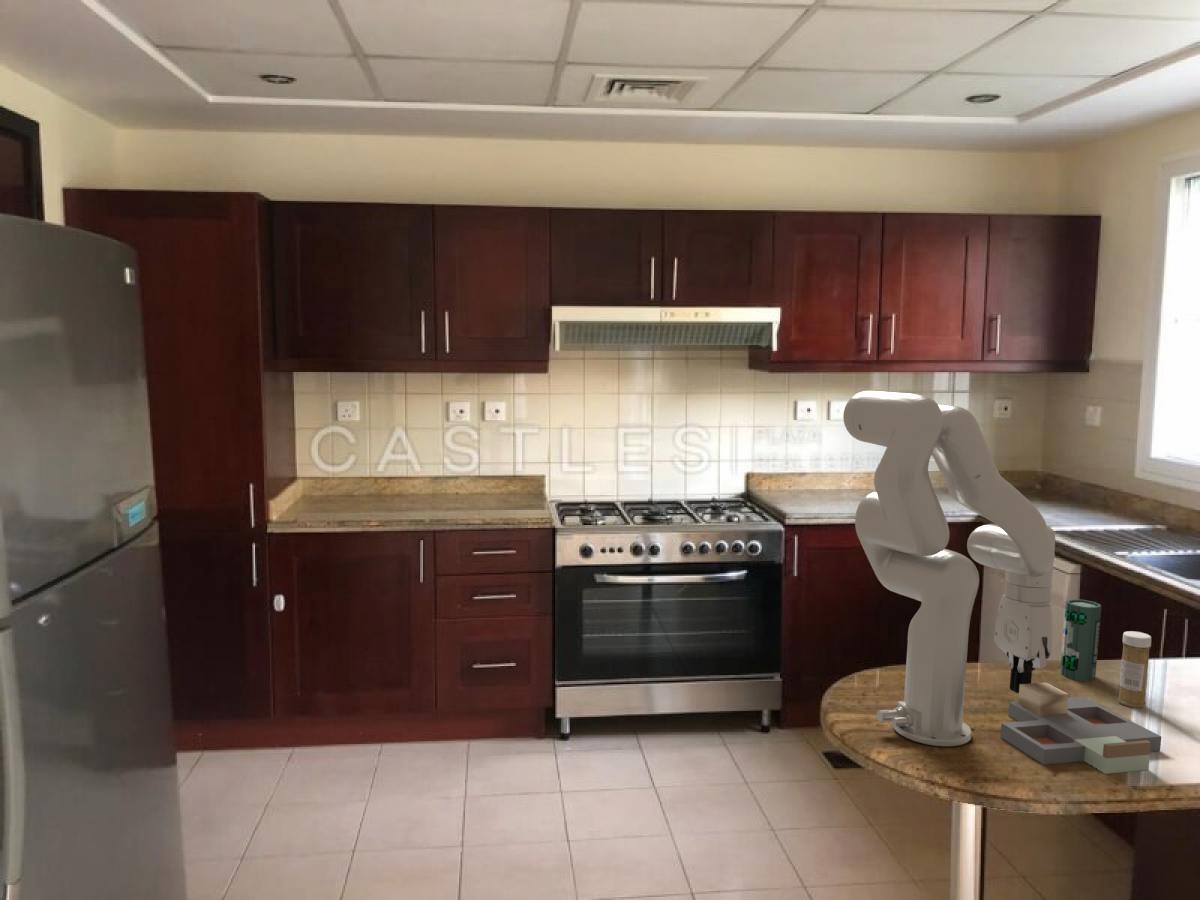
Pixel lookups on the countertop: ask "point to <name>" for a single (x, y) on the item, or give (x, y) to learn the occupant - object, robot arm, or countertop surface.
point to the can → (1080, 639)
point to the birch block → (1043, 698)
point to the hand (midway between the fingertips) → (1019, 690)
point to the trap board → (1081, 737)
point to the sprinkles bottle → (1134, 669)
